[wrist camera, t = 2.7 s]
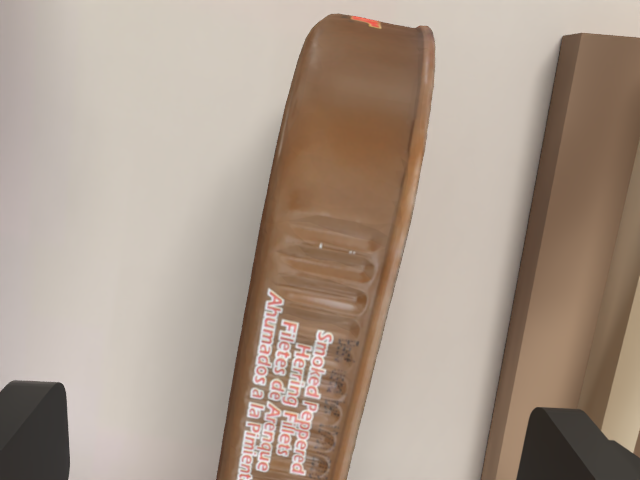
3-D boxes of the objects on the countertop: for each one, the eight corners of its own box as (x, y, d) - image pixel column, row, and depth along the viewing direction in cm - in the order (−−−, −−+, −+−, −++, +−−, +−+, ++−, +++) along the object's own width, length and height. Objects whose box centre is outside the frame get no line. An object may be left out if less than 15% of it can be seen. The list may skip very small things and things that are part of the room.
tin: (312, 464, 21) (316, 713, 13) (227, 452, 20) (176, 696, 12) (408, 42, 17) (505, 8, 9) (304, 19, 16) (303, -37, 8)
